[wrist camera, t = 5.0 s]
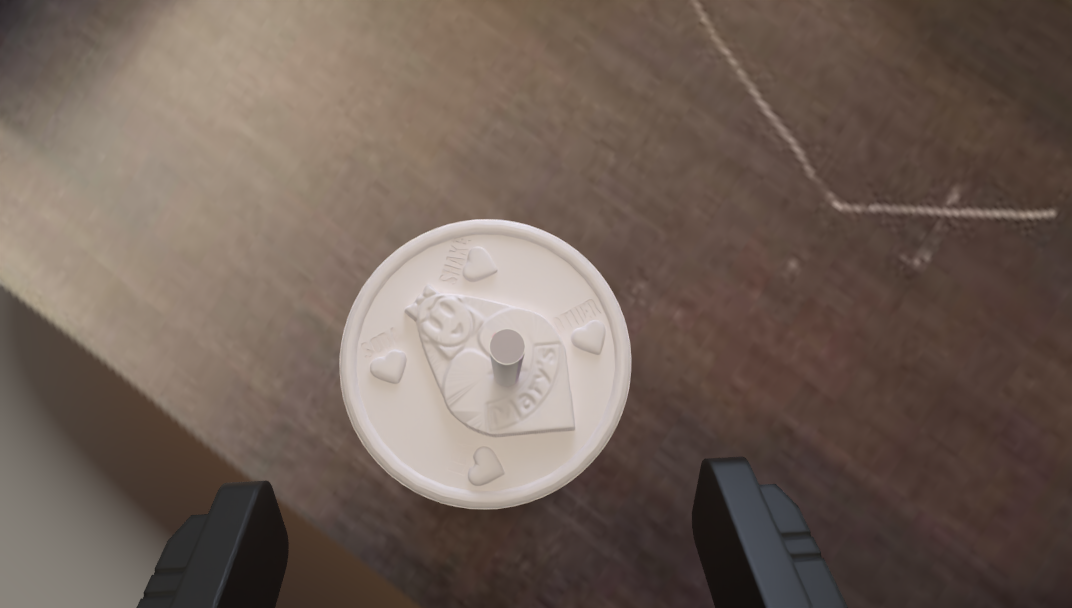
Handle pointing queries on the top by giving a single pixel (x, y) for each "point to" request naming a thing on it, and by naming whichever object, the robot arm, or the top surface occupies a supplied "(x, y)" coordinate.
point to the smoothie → (485, 364)
